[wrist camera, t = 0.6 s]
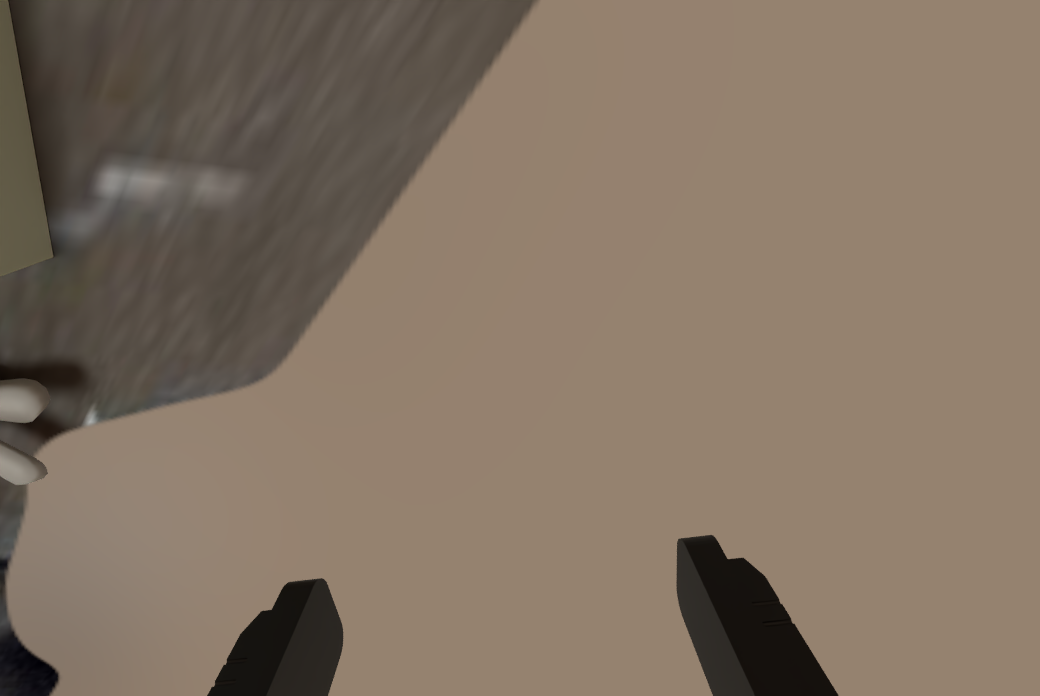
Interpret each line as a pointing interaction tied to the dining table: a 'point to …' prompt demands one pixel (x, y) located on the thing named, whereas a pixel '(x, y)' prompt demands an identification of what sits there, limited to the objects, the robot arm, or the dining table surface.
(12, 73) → the socket block
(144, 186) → the dining table surface
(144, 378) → the dining table surface
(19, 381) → the bunny figurine
